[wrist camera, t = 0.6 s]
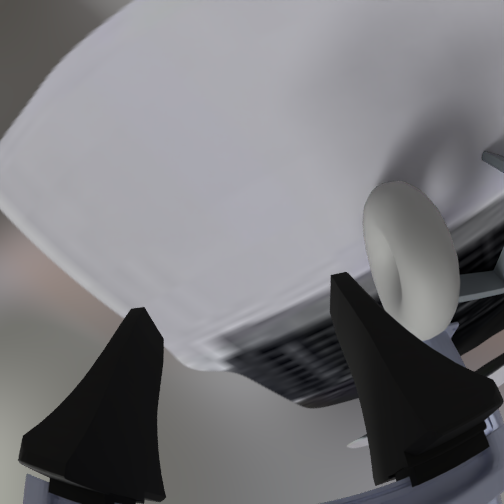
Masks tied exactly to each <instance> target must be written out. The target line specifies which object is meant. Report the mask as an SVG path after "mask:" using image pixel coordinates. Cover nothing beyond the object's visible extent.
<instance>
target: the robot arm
mask: <svg viewBox="0 0 504 504" xmlns="http://www.w3.org/2000/svg"><path fill="white" fill-rule="evenodd" d="M330 314H331V317H332V321H333V325H334V329H335V332H336V336H337V338H338V341H339V343H340V346H341V348H342V351H343V353H344V356H345V359H346V361H347V364H348V366H349V369H350V371H351V374H352V377H353V379H354V382H355V385H356V388H357V392H358V396H359V400H360V403H361V408H362V412H363V416H364V421H365V426H366V431H367V437H368V443H369V448H370V455H371V463H372V471H373V478H374V482H375V485H376V486H377V485H379V484H383V483H385V482H388V481H391V480H394V479H396V482H394V483H391V484H389V485H386V486H383V487H380V488H377V489H374V490H370V491H367V492H364V493H361V494H357V495H353V496H350V497H346V498H342V499H338V500H334V501H329V502H325V503H320V504H502V501H501V497H500V494H501V493H502V492H503V491H504V424H503V419H502V416H501V414H500V412H499V409H498V408H499V407H500V406H501V405H502V404H503V398H502V396H501V394H500V392H499V390H498V387H497V386H496V384H495V382H494V380H492V379H490V378H488V377H485V376H483V375H481V374H478V373H476V372H474V371H471V370H469V369H467V368H466V367H465V365H464V363H463V361H462V359H461V357H460V355H459V353H458V351H457V349H456V347H455V346H454V344H453V342H452V340H451V337H452V336H453V334H454V333H455V331H456V329H457V328H458V326H459V323H458V322H454V323H450V324H449V325H448V327H447V328H446V329H445V331H443V332H441V333H440V334H438V335H437V336H435V337H433V338H431V339H429V340H425V341H421V340H420V339H419V338H417V337H416V336H415V335H413V334H412V333H411V332H409V331H408V330H407V329H406V328H405V327H403V326H402V325H401V324H400V323H399V322H397V321H396V320H395V319H394V318H393V317H392V316H391V315H390V314H388V313H387V312H386V311H385V310H384V309H383V308H382V307H381V306H380V305H379V304H378V303H377V302H376V301H375V300H374V299H373V298H372V297H371V296H370V295H369V294H368V293H367V292H366V291H365V290H364V289H363V288H362V287H361V286H360V285H359V284H358V283H357V282H356V281H355V280H354V279H353V278H352V277H351V276H350V275H349V274H348V273H347V272H344V273H339V274H334V275H331V293H330ZM163 349H164V339H163V337H162V335H161V334H160V332H159V331H158V329H157V327H156V326H155V324H154V322H153V321H152V319H151V318H150V316H149V314H148V312H147V311H146V309H145V307H141V308H134V309H131V310H130V311H129V313H128V314H127V315H126V317H125V318H124V320H123V322H122V323H121V324H120V326H119V328H118V329H117V331H116V332H115V334H114V335H113V337H112V338H111V340H110V342H109V343H108V344H107V346H106V347H105V349H104V350H103V352H102V353H101V355H100V356H99V357H98V359H97V360H96V362H95V363H94V365H93V366H92V367H91V369H90V370H89V372H88V373H87V374H86V376H85V377H84V378H83V379H82V381H81V382H80V383H79V384H78V385H77V387H76V388H75V389H74V390H73V391H72V393H71V394H70V395H69V396H68V397H67V398H66V399H65V400H64V401H63V402H62V403H61V404H60V405H59V406H58V407H57V408H56V409H55V410H54V411H53V412H52V413H51V414H50V415H49V416H47V417H46V418H45V419H44V420H43V421H42V422H40V423H39V424H38V425H37V426H36V427H34V428H33V429H31V430H30V431H29V432H27V433H26V434H25V435H23V438H22V443H21V448H20V453H19V459H18V461H19V462H20V463H21V464H22V465H24V466H26V467H28V468H30V469H32V470H34V471H36V472H38V473H40V474H43V475H45V476H47V477H49V478H50V482H46V481H44V480H42V479H39V478H37V477H34V476H32V475H30V474H27V475H26V482H25V489H24V499H23V504H136V503H143V504H144V500H148V501H156V502H161V501H162V500H164V499H165V498H166V495H165V491H164V486H163V481H162V476H161V469H160V461H159V452H158V437H157V409H158V400H159V391H160V384H161V376H162V368H163V353H164V350H163Z"/></svg>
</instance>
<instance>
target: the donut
mask: <svg viewBox="0 0 504 504" xmlns="http://www.w3.org/2000/svg"><path fill="white" fill-rule="evenodd" d="M363 234H364V241H365V247H366V252H367V256H368V261H369V265H370V269H371V272H372V276H373V279H374V283H375V285H376V288H377V291H378V294H379V297H380V300H381V302H382V304H383V307H384V309H385V311H386V312H387V313H388V314H390V315H391V316H392V317H393V318H394V319H395V320H396V321H397V322H399V323H400V324H401V325H402V326H403V327H405V328H406V329H407V330H408V331H409V332H411V333H412V334H413V335H415V336H416V337H417V338H419V339H420V340H421V341H425V340H429V339H431V338H433V337H435V336H437V335H438V334H440V333H441V332H443V331H445V329H446V328H447V327H448V325H449V324H450V322H451V320H452V318H453V316H454V313H455V311H456V308H457V305H458V300H459V291H460V274H459V265H458V257H457V254H456V250H455V247H454V244H453V241H452V237H451V234H450V231H449V229H448V227H447V225H446V223H445V221H444V219H443V218H442V216H441V214H440V212H439V210H438V209H437V207H436V206H435V205H434V204H433V203H432V201H431V200H430V199H429V198H428V197H427V196H426V195H425V194H424V193H423V192H422V191H421V190H419V189H417V188H416V187H414V186H412V185H410V184H408V183H406V182H402V181H392V182H387V183H383V184H381V185H379V186H377V187H376V188H375V189H374V190H373V191H372V192H371V194H370V196H369V197H368V199H367V201H366V203H365V206H364V214H363Z"/></svg>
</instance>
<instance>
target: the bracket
mask: <svg viewBox="0 0 504 504" xmlns="http://www.w3.org/2000/svg"><path fill="white" fill-rule="evenodd" d="M482 160H483V161H485V162H486V163H488V164H490V165H492V166H493V167H495V168H497V169H498V170H500V171H501V172H503V173H504V157H503V156H500V155H496V154H493V153H489V152H486V151H484V152H483V157H482ZM502 293H504V247H503V250H502V252H501V254H500V257H499V259H498V261H497V264H496V266H495V268H494V270H493V271H486V272H478V273H470V274H462V275H460V291H459V300H458V303H459V302H464V301H469V300H474V299H479V298H484V297H488V296H493V295H497V294H502Z"/></svg>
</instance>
